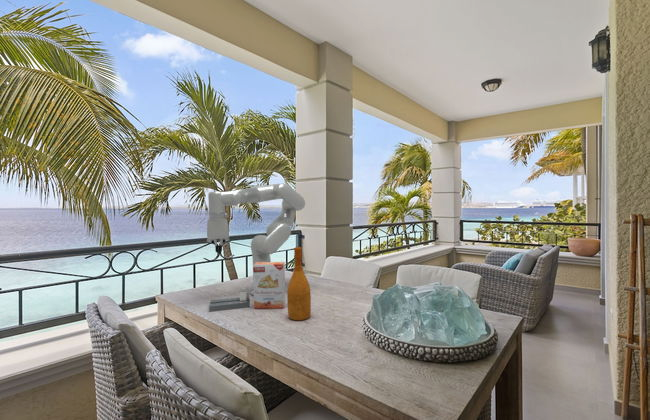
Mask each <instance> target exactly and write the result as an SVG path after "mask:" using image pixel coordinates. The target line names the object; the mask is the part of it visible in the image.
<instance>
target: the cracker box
mask: <svg viewBox="0 0 650 420" xmlns="http://www.w3.org/2000/svg"><path fill="white" fill-rule="evenodd" d="M285 263H286V262H285V261H271V262H256V263H255V264H254V265H253V264H252V280H254V296H253V308H254V309H255V310H256V309H284V308H285V306H286V271H285V269H286V268H285V267H286V266H285Z"/></svg>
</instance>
